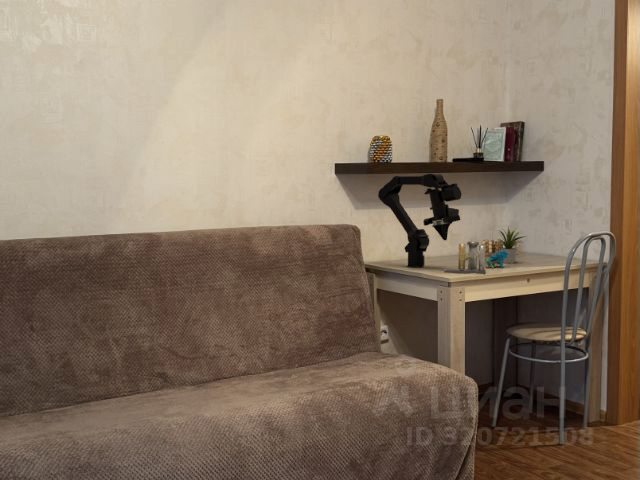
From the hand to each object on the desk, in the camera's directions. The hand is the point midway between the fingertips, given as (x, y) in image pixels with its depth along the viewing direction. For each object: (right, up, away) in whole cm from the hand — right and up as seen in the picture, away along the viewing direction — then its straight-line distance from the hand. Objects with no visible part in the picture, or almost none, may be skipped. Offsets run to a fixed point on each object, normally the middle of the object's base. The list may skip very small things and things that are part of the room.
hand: (445, 240), depth 325 cm
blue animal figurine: (+23, -12, +8) cm, 27 cm away
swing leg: (+7, -11, -6) cm, 15 cm away
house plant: (+32, -10, +23) cm, 41 cm away
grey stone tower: (+12, -13, -4) cm, 18 cm away
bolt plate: (+6, -13, -10) cm, 17 cm away
